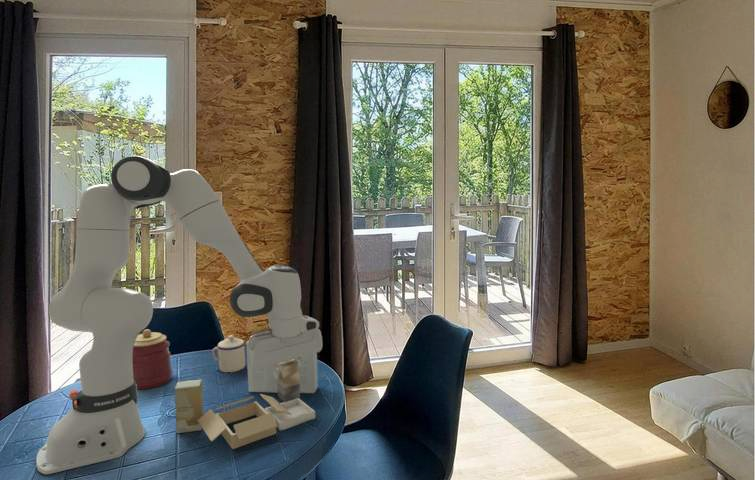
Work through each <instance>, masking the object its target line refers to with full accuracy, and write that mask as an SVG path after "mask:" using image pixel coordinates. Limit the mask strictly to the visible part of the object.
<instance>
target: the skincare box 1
mask: <svg viewBox="0 0 755 480" xmlns="http://www.w3.org/2000/svg"><path fill="white" fill-rule="evenodd" d="M203 399H204V397H203V379H194V380H185V381H184V380H183V381H177V382H176V384H175V386H174V403H175V425H176V426H175V427H176V430H175V431H176V433H177V434H181V433H190V432H197V431H203V428H202V427H201V425H200V424H199V422H198V421H197V420H198V419H200V418H201V417H202V416H203V415H204V402H203V401H204V400H203Z"/></svg>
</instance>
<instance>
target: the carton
mask: <svg viewBox="0 0 755 480" xmlns="http://www.w3.org/2000/svg"><path fill="white" fill-rule="evenodd" d="M260 396H261V397H262V398H263V399H264V401H266V403H268V404H269V405H270V406H273V407H274V408H275V409H276V410H277V411H278V412H281V413H285V414H289V415H291V413H290V412H289V411H288V410H287V409H285V408H284V407H283V406H282V405H281V404H280V403H281V402H279V401H278V400H277V399H276V398H275V397H274V396H270V395H266V394H263V393H260ZM254 398H255V396H254V395H253V396H250V397H246V398H243V399H239V400H236V401H232V402H229V403H226V404H223V405H220V406H218V407H216V408H215V409H214V410H219V409H223V408H226V407H230V406H233V405H236V404H239V403H243V402H246V401H250V400H251V399H254ZM252 416H256V417H255V418H250V419H248V420H245V421H242V422H239V423H236V424H233V429H234V431H235V433H234V432H233V431H232V430H231V429H230V428H229V426H228V424H232V423H235V422H237V421H241V420H243V419H246V418H249V417H252ZM197 421H198V422H199V424H200V425H201V427H202V431H204V433H205V434H206V436H207V437H208V439H209V440H210V441H211V442H213V441H215V440H216V439H217V438H218V437H219V436H220V435H222V437H223V438H224V440H225V441H226V442H227V444H228V446H229V447H230V448H231V449H232V450H235V449H237V448H241V447H243V446H246V445H248V444H252V443H254V442H257V441H259V440H262V439H265V438H268V437H271V436H273V435H276V434H277V424H276V420H275V419H274V418H273V416H272V413H268V412H267V411H266V410H265V409H264V407H263V406H262V405H261V404H260V403H259V402H258V401H252V402H248V403H246V404H243V405H239V406H237V407H233V408H229V409H226V410H223V411H220V412H217V413H214V411H213V410H212V409H211V408H210V409H209V410H208V411H206V412H205V413H203V416H202V417H201V418H200V419H198V420H197Z"/></svg>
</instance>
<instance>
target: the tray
mask: <svg viewBox="0 0 755 480" xmlns="http://www.w3.org/2000/svg"><path fill="white" fill-rule="evenodd" d="M279 403H280V404H281V405H282V406H283V407H284V408H285V409H287V410H288V411H289V412H290V413H291V415H289V414H285V413H281V412H278V411H277V410H276V409H275V408H274V407H273V406H271V405H270V406H267V407H265V408H264V407H263V408H264V409H265V410H266V411H267V412H268V413H272V416H273V418H274V419H275V420H276V424H277V427H276V429H278V431H280V432H282V431H285V430H287V429H290V428H292V427H295V426H299V425H301V424H303V423H306V422H309V421H311V420H315V419H316V411H315V410H314V409H313V408H312V407H310V405H308V404H307V403H306V402H304V401H303V400H302V399H300V398H297V399H294V400H291V401H288V402H284V401H283V402H279Z"/></svg>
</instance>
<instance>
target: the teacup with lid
mask: <svg viewBox="0 0 755 480" xmlns="http://www.w3.org/2000/svg"><path fill="white" fill-rule="evenodd" d="M245 345H246V343H245V340H243V339H241V338H238V337H235V336H234V335H232V334H231V335H227V338H225V339H224V340H221V341H220V342H218V344H217V346H215V347H214V348H212V351H211V355H212V357H213V359H214V360H216V361H217V362H218V365H219V366H218V367H219V368H218V369H219V370H220V372H223V373H227V372H230V373H235V372H239V371H242V370H243V369H245V367H246V356H245ZM216 350H218V351H217V352H218V355H217V354H216ZM241 369H242V370H241Z"/></svg>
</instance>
